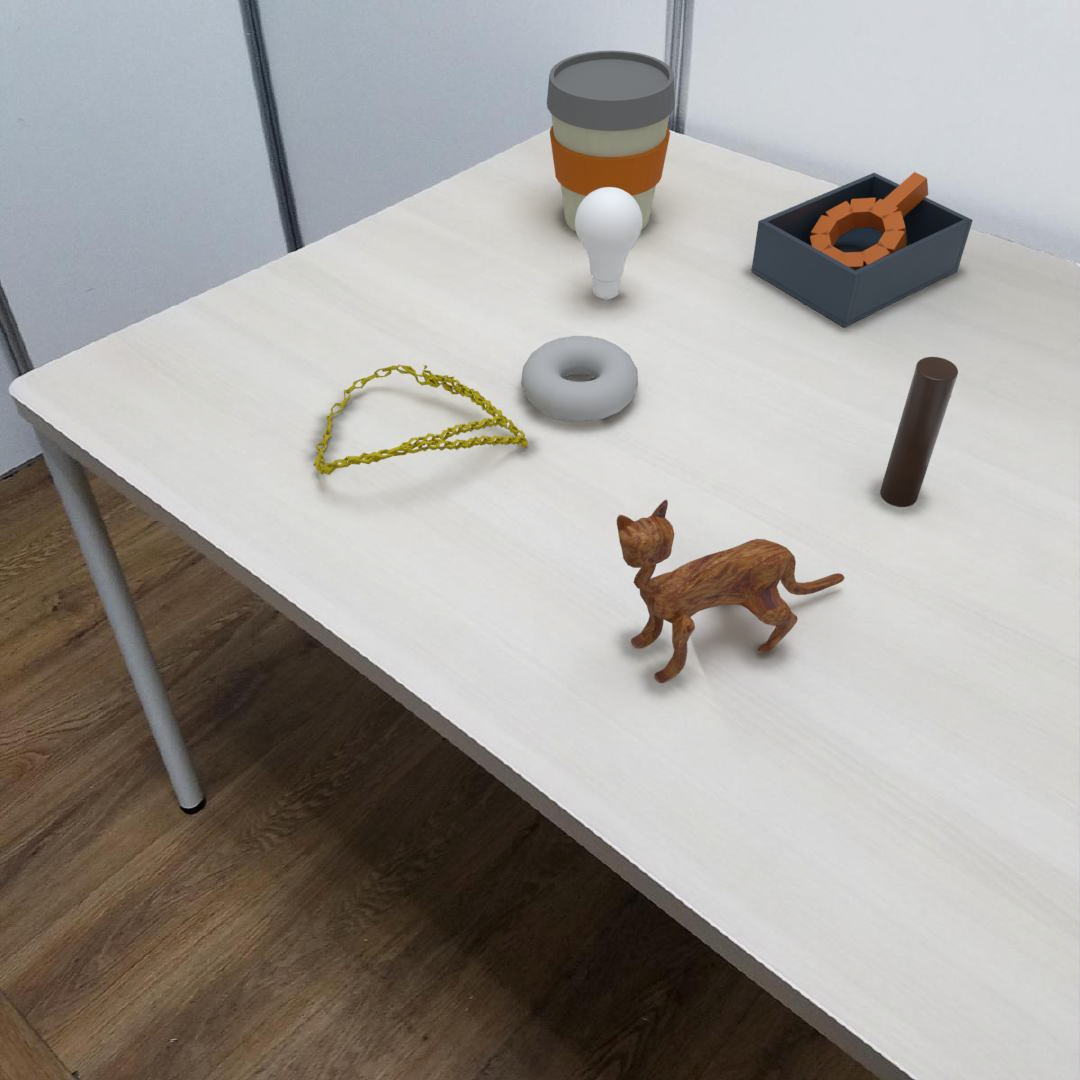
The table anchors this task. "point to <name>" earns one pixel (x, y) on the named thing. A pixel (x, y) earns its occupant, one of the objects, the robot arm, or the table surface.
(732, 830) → the table surface
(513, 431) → the decorative chain
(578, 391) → the donut
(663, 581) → the cat figurine
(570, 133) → the reusable coffee cup
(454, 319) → the table surface
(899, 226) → the ring
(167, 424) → the table surface
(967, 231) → the bin
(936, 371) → the post
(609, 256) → the lightbulb
